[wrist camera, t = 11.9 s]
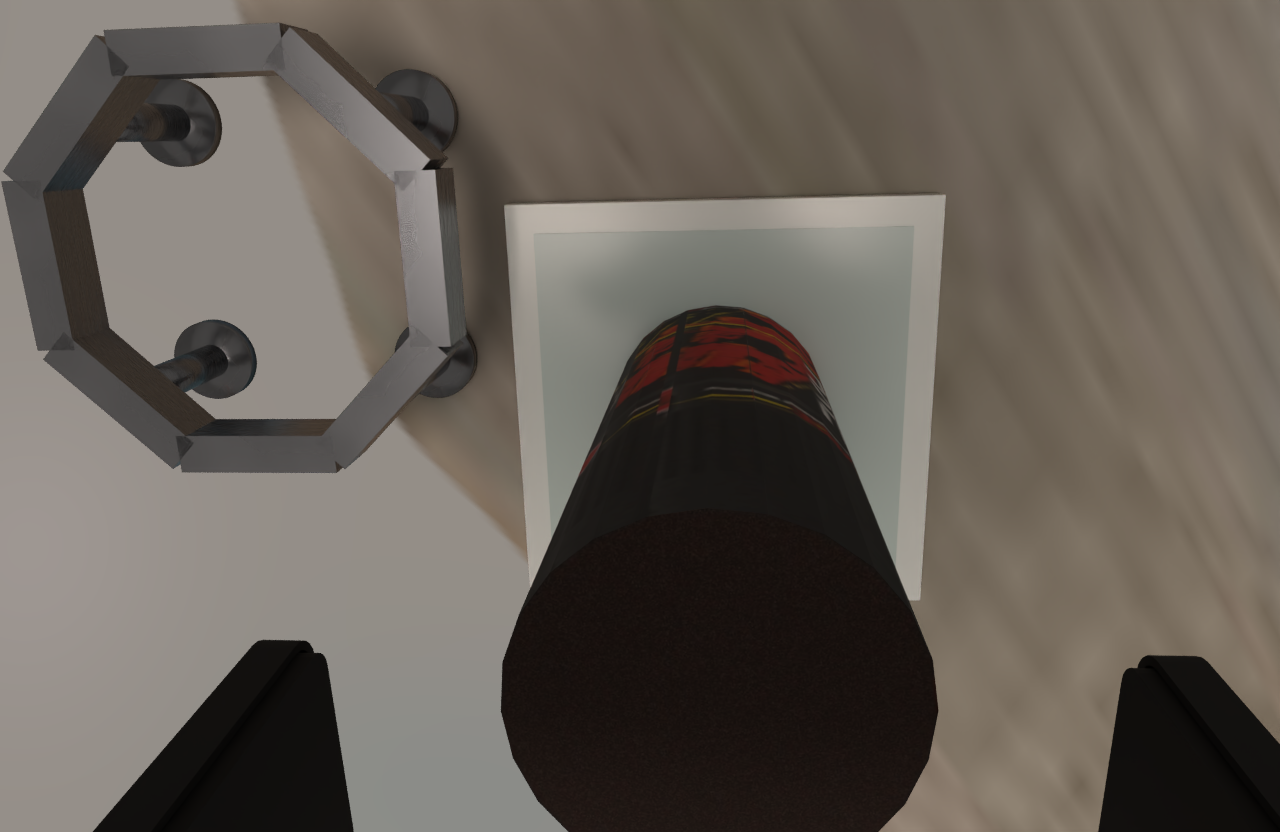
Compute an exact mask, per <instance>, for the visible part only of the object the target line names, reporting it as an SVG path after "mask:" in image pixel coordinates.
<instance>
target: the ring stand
mask: <svg viewBox="0 0 1280 832" xmlns="http://www.w3.org/2000/svg"><path fill="white" fill-rule="evenodd" d="M104 35H105V37H104V36H98V35H95V36H94V37H93V39H92V40H91V41H90V43H89V44H88V46H87V47H86V49H85V50H84V52H83V53H82V55H81V56H80V58H79V59H78V61H77V62H76V64H75V65H74V67H73V68H72V70H71V71H70V73H69V74H68V76H67V77H66V79H65V80H64V82H63V83H62V84H61V86H60V87H59V89H58V91H57V92H56V93H55V95H54V96H53V98H52V100H51V101H50V103H49V104H48V105H47V107H46V108H45V110H44V111H43V113H42V114H41V116H40V117H39V119H38V120H37V122H36V123H35V125H34V126H33V128H32V129H31V131H30V132H29V134H28V135H27V137H26V138H25V139H24V141H23V142H22V144H21V145H20V147H19V148H18V150H17V151H16V153H15V154H14V156H13V157H12V159H11V160H10V162H9V163H8V165H7V166H6V168H5V169H4V171H3V172H4V173H5V174H6V175H8V176H9V177H10V178H11V179H12V180H13V181H2V187H3V192H4V196H5V201H6V206H7V210H8V215H9V219H10V224H11V229H12V233H13V238H14V243H15V247H16V252H17V257H18V261H19V266H20V270H21V275H22V280H23V284H24V289H25V293H26V298H27V302H28V308H29V312H30V317H31V321H32V326H33V331H34V335H35V340H36V345H37V349H38V350H39V351H42V350H50V351H49V352H48V354H47V355H46V357H45V358H44V359H43V360H45V361H46V362H47V363H48V364H49V365H50V366H52V367H53V368H54V369H55V370H56V371H58V372H59V373H60V374H61V375H62V376H64V377H65V378H66V379H67V380H68V381H69V382H71V383H72V384H73V385H74V386H75V387H77V388H78V389H79V390H80V391H81V392H82V393H84V394H85V395H86V396H87V397H89V398H90V399H91V400H92V401H93V402H94V403H96V404H97V405H98V406H99V407H100V408H101V409H103V410H104V411H105V412H106V413H107V414H109V415H110V416H111V417H112V418H114V419H115V420H116V421H117V422H118V423H119V424H120V425H122V426H123V427H124V428H125V429H126V430H128V431H129V432H130V433H131V434H133V436H135V437H136V438H137V439H138V440H140V441H141V442H142V443H143V444H144V445H145V446H147V447H148V448H149V449H150V450H151V451H152V452H154V453H155V454H156V455H157V456H158V457H160V458H161V459H162V460H163V461H164V462H166V463H167V464H168V465H169V466H170V467H171V468H173V469H174V468H175V467H177V466H178V465H180V464H181V469H182V472H245V473H246V472H250V473H253V472H255V473H256V472H257V473H259V472H260V473H261V472H262V473H263V472H264V473H265V472H266V473H269V472H271V473H337V472H338V471H339V470H340V469H342V468H344V469H346V468H347V467H348V466H349V465H350V464H351V463H353V462H354V461H355V460H356V459H357V458H358V457H360V456H361V455H362V454H363V453H364V452H365V451H366V450H367V449H368V448H369V447H370V446H371V445H372V444H373V443H374V441H375V440H376V439H377V438H378V437H379V436H380V435H381V434H382V433H383V431H384V430H385V429H386V428H387V427H388V426H389V425H390V424H391V423H392V422H393V421H394V419H395V418H396V417H397V416H398V415H399V414H400V413H401V412H402V411H403V410H404V408H405V407H406V406H407V405H408V404H409V403H410V402H411V401H412V400H413V399H414V398H415V397H416V396H417V395H418V394H422V395H424V396H427V397H433V398H442V397H447V396H450V395H453V394H455V393H457V392H458V391H459V390H461V389H462V388H463V387H464V386H465V385H466V384H467V383H468V382H469V381H470V379H471V378H472V376H473V374H474V372H475V369H476V363H477V354H476V349H475V345H474V343H473V341H472V339H471V337H470V336H469V334H468V333H467V332H466V322H465V310H464V297H463V285H462V273H461V261H460V249H459V236H458V224H457V212H456V200H455V188H454V175H453V168H441V166H442V165H443V164H444V163H445V162H446V160H447V159H448V158H447V157H446V156H445V155H444V154H443V153H442V151H444V150H445V149H446V148H447V147H448V145H449V144H450V143H451V141H452V139H453V137H454V135H455V132H456V129H457V122H458V114H457V107H456V104H455V101H454V98H453V96H452V94H451V93H450V91H449V90H448V88H447V87H446V86H445V85H444V84H443V83H442V82H441V81H440V80H439V79H438V78H436V77H434V76H433V75H431V74H429V73H426V72H422V71H418V70H410V69H406V70H400V71H396V72H394V73H391V74H390V75H388V76H386V77H385V78H384V79H383V80H382V81H381V82H380V83H379V84H378V85H377V87H376V88H374V87H373V86H372V85H371V84H370V83H368V82H367V81H366V80H365V79H364V78H363V77H362V76H361V75H360V74H359V73H358V72H357V71H356V70H355V69H354V68H353V67H352V66H351V65H349V64H348V63H347V62H346V61H345V60H344V59H343V58H342V57H341V56H340V55H339V54H338V53H337V52H336V51H335V50H334V49H333V48H332V47H331V46H329V45H328V44H327V43H326V42H325V41H324V40H323V39H322V38H321V37H320V36H319V35H318V34H315V33H311V32H308V30H305V29H301V28H298V27H294V26H290V25H286V24H282V23H262V24H238V25H214V26H190V27H167V28H144V29H143V28H142V29H119V30H104ZM275 75H279V76H280V77H281V78H282V79H283V80H285V81H286V82H287V83H288V84H289V85H290V86H291V87H292V88H293V89H294V90H295V91H296V92H297V93H298V94H300V95H301V96H302V97H303V98H304V99H305V100H306V101H307V102H308V103H309V104H310V105H311V106H312V107H313V108H315V109H316V110H317V111H318V112H319V113H320V114H321V115H322V116H323V117H324V118H325V119H326V120H327V121H328V122H330V123H331V124H332V125H333V126H334V127H335V128H336V129H337V130H338V131H339V132H340V133H341V134H342V135H343V136H344V137H346V138H347V139H348V140H349V141H350V142H351V143H352V144H353V145H354V146H355V147H356V148H357V149H358V150H359V151H361V152H362V153H363V154H364V155H365V156H366V157H367V158H368V159H369V160H370V161H371V162H372V163H373V164H374V165H376V166H377V167H378V168H379V169H380V170H381V171H382V172H383V173H384V174H385V175H386V176H387V177H388V178H389V179H391V180H392V181H393V182H394V183H395V193H396V203H397V213H398V223H399V233H400V243H401V253H402V263H403V273H404V283H405V293H406V303H407V314H408V324H409V327H408V328H406V329H405V330H404V331H403V333H402V334H401V335H400V337H399V339H398V341H397V344H396V348H395V353H394V354H393V356H392V357H391V358H390V359H389V360H388V361H387V362H386V363H385V365H384V366H383V367H382V368H381V369H380V370H379V371H378V373H377V374H376V375H375V376H374V377H373V378H372V379H371V380H370V382H369V383H368V384H367V385H366V386H365V387H364V388H363V390H362V391H361V392H360V393H359V394H358V395H357V396H356V397H355V399H354V400H353V401H352V402H351V403H350V404H349V406H348V407H347V408H346V409H345V410H344V411H343V412H342V413H341V415H340V416H339V417H338V418H337V419H215V418H214V417H212V416H211V415H210V414H209V413H208V412H207V411H206V410H204V409H203V408H202V407H201V406H200V405H199V404H197V403H196V402H195V401H194V400H193V399H192V398H190V397H189V396H188V395H187V394H186V393H185V392H187V391H189V390H191V389H193V390H194V391H195V392H197V393H199V394H201V395H203V396H206V397H209V398H215V399H221V398H228V397H230V396H233V395H235V394H237V393H238V392H240V391H242V390H244V389H245V388H246V387H247V386H248V385H249V384H250V383H251V381H252V380H253V377H254V375H255V372H256V367H257V360H256V354H255V351H254V348H253V346H252V344H251V342H250V340H249V339H248V338H247V336H246V335H245V334H244V333H243V332H242V331H241V330H240V329H238V328H237V327H236V326H234V325H232V324H230V323H228V322H225V321H221V320H206V321H202V322H199V323H197V324H194V325H192V326H190V327H188V328H187V329H186V330H184V331H183V332H182V334H181V335H180V337H179V338H178V340H177V342H176V346H175V352H174V353H175V354H174V357H175V358H173V359H171V360H168V361H166V362H163V363H161V364H158V365H156V366H153V365H152V364H151V363H150V362H148V361H147V360H146V359H145V358H143V356H141V355H140V354H139V353H138V352H137V351H136V350H134V349H133V348H132V347H131V346H130V345H129V344H127V343H126V342H125V341H124V340H123V339H122V338H120V337H119V336H118V335H117V334H116V333H115V332H114V331H112V330H111V329H110V328H109V323H108V318H107V313H106V307H105V302H104V297H103V292H102V287H101V281H100V276H99V271H98V267H97V261H96V255H95V251H94V245H93V240H92V235H91V229H90V224H89V219H88V214H87V209H86V204H85V198H84V193H83V188H84V186H85V185H86V184H87V182H88V181H89V179H90V178H91V176H92V175H93V174H94V172H95V171H96V169H97V168H98V167H99V165H100V164H101V163H102V161H103V160H104V158H105V157H106V155H107V154H108V153H109V151H110V150H111V148H112V147H113V146H114V144H115V143H116V142H141V144H142V145H143V147H144V148H145V149H146V150H147V152H148V153H149V154H151V155H152V156H153V157H154V158H156V159H157V160H159V161H160V162H162V163H164V164H167V165H171V166H176V167H185V166H195V165H198V164H201V163H203V162H205V161H206V160H208V159H209V158H210V157H211V156H212V155H213V154H214V153H215V151H216V150H217V148H218V146H219V143H220V140H221V135H222V123H221V118H220V114H219V111H218V109H217V107H216V105H215V103H214V101H213V100H212V99H211V97H210V96H209V95H208V94H207V93H206V92H205V91H204V90H203V89H202V88H201V87H199V86H197V85H196V84H193V83H192V82H189V81H186V80H181V79H193V78H220V77H247V76H275Z"/></svg>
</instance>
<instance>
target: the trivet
mask: <svg viewBox="0 0 1280 832" xmlns="http://www.w3.org/2000/svg"><path fill="white" fill-rule="evenodd" d="M945 200H946V195H944V194H940V193H928V194H885V195H842V196H799V197H756V198H713V199H670V200H627V201H584V202H541V203H509V204H506V205H504V211H505V226H506V241H507V256H508V270H509V285H510V300H511V315H512V329H513V344H514V359H515V374H516V389H517V403H518V418H519V433H520V448H521V463H522V477H523V492H524V507H525V522H526V536H527V551H528V566H529V581H530V588H531V586H532V583H533V581H534V579H535V576H536V574H537V572H538V569H539V567H540V565H541V562H542V560H543V558H544V555H545V553H546V551H547V548H548V546H549V543H550V541H551V539H552V536H553V534H554V532H555V529H556V527H557V525H558V522H559V520H560V518H561V515H562V513H563V511H564V508H565V506H566V504H567V501H568V499H569V497H570V494H571V492H572V490H573V487H574V485H575V483H576V480H577V478H578V476H579V473H580V471H581V468H582V466H583V464H584V461H585V459H586V457H587V454H588V452H589V450H590V447H591V445H592V443H593V440H594V438H595V436H596V433H597V431H598V429H599V426H600V424H601V422H602V419H603V417H604V415H605V412H606V410H607V408H608V405H609V403H610V401H611V398H612V396H613V393H614V391H615V389H616V386H617V384H618V382H619V379H620V377H621V375H622V372H623V370H624V368H625V365H626V363H627V361H628V359H629V358H630V356H631V355H632V353H633V352H634V350H635V349H636V348H637V346H638V345H639V343H640V342H641V340H642V339H643V338H644V337H645V336H646V335H648V334H649V333H650V332H651V331H653V330H654V329H655V328H656V327H657V326H659V325H660V324H661V323H662V322H663V321H665V320H668V319H670V318H672V317H674V316H676V315H678V314H681V313H683V312H685V311H687V310H691V309H697V308H703V307H709V306H715V305H718V306H731V307H742V308H746V309H748V310H751V311H754V312H757V313H760V314H762V315H765V316H768V317H770V318H771V319H773V320H774V321H776V322H777V323H778V324H780V325H781V326H783V327H784V328H786V329H787V330H788V331H790V332H791V333H792V334H793V335H794V336H795V337H796V339H797V340H798V341H799V342H800V344H801V345H802V346H803V347H804V348H805V350H806V351H807V352H808V353H809V355H810V358H811V360H812V362H813V364H814V367H815V369H816V371H817V374H818V376H819V378H820V381H821V383H822V386H823V388H824V391H825V393H826V396H827V398H828V401H829V403H830V406H831V408H832V410H833V413H834V415H835V418H836V420H837V423H838V425H839V428H840V430H841V433H842V435H843V438H844V440H845V443H846V445H847V448H848V450H849V453H850V455H851V458H852V460H853V463H854V465H855V468H856V470H857V473H858V475H859V478H860V480H861V483H862V485H863V488H864V490H865V493H866V495H867V498H868V500H869V503H870V505H871V508H872V510H873V513H874V515H875V518H876V520H877V523H878V525H879V528H880V530H881V533H882V535H883V537H884V540H885V542H886V545H887V547H888V550H889V552H890V555H891V557H892V560H893V562H894V565H895V567H896V570H897V572H898V575H899V577H900V580H901V582H902V585H903V587H904V590H905V592H906V595H907V597H908V600H920V593H921V578H922V562H923V546H924V530H925V515H926V499H927V483H928V467H929V452H930V436H931V420H932V404H933V389H934V373H935V357H936V341H937V326H938V310H939V294H940V278H941V263H942V247H943V231H944V216H945Z"/></svg>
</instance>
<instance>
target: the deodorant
mask: <svg viewBox="0 0 1280 832" xmlns="http://www.w3.org/2000/svg"><path fill="white" fill-rule="evenodd" d="M501 713H502V717H503V721H504V724H505V729H506V732H507V736H508V740H509V743H510V748H511V752H512V756H513V759H514V760H515V762H516V764H517V765H518V767H519V769H520V771H521V773H522V774H523V776H524V778H525V779H526V781H527V783H528V784H529V786H530V788H531V790H532V792H533V793H534V795H535V797H536V798H537V800H538V802H540V804H541V805H543V807H544V808H545V809H546V810H547V811H548V812H549V813H550V814H551V815H552V816H553V817H554V818H555V819H556V820H557V821H558V822H559V823H561V825H562V826H563V827H564V828H565V829H566V830H567V831H568V832H879V830H880V829H881V828H882V827H883V826H884V825H885V824H886V823H887V822H888V821H889V820H890V819H891V818H892V817H893V816H894V815H895V814H896V813H897V812H898V811H899V810H900V809H901V808H902V807H903V806H904V805H905V803H906V801H907V799H908V797H909V796H910V794H911V792H912V790H913V788H914V786H915V784H916V783H917V781H918V779H919V777H920V775H921V773H922V771H923V769H924V768H925V766H926V764H927V762H928V760H929V755H930V750H931V745H932V740H933V735H934V730H935V725H936V720H937V715H938V703H937V694H936V685H935V676H934V667H933V660H932V657H931V655H930V652H929V650H928V647H927V645H926V642H925V640H924V637H923V635H922V632H921V630H920V627H919V625H918V622H917V620H916V617H915V615H914V612H913V610H912V607H911V605H910V602H909V600H908V597H907V595H906V592H905V590H904V587H903V585H902V582H901V580H900V577H899V575H898V572H897V570H896V567H895V565H894V562H893V560H892V557H891V555H890V552H889V550H888V547H887V545H886V542H885V540H884V537H883V535H882V533H881V530H880V528H879V525H878V523H877V520H876V518H875V515H874V513H873V510H872V508H871V505H870V503H869V500H868V498H867V495H866V493H865V490H864V488H863V485H862V483H861V480H860V478H859V475H858V473H857V470H856V468H855V465H854V463H853V460H852V458H851V455H850V453H849V450H848V448H847V445H846V443H845V440H844V438H843V435H842V433H841V430H840V428H839V425H838V423H837V420H836V418H835V415H834V413H833V410H832V408H831V406H830V403H829V401H828V398H827V396H826V393H825V391H824V388H823V386H822V383H821V381H820V378H819V376H818V374H817V371H816V369H815V367H814V364H813V362H812V360H811V358H810V355H809V353H808V352H807V351H806V350H805V348H804V347H803V346H802V345H801V344H800V342H799V341H798V340H797V339H796V337H795V336H794V335H793V334H792V333H791V332H790V331H788V330H787V329H786V328H784V327H783V326H781V325H780V324H778V323H777V322H776V321H774V320H773V319H771V318H770V317H768V316H765V315H762V314H760V313H757V312H754V311H751V310H748V309H746V308H742V307H731V306H718V305H715V306H709V307H703V308H697V309H691V310H687V311H685V312H683V313H681V314H678V315H676V316H674V317H672V318H670V319H668V320H665V321H663V322H662V323H661V324H660V325H659V326H657V327H656V328H655V329H654V330H653V331H651V332H650V333H649V334H648V335H646V336H645V337H644V338H643V339H642V340H641V342H640V343H639V345H638V346H637V348H636V349H635V350H634V352H633V353H632V355H631V356H630V358H629V359H628V361H627V363H626V365H625V368H624V370H623V372H622V375H621V377H620V379H619V382H618V384H617V386H616V389H615V391H614V393H613V396H612V398H611V401H610V403H609V405H608V408H607V410H606V412H605V415H604V417H603V419H602V422H601V424H600V426H599V429H598V431H597V433H596V436H595V438H594V440H593V443H592V445H591V447H590V450H589V452H588V454H587V457H586V459H585V461H584V464H583V466H582V468H581V471H580V473H579V476H578V478H577V480H576V483H575V485H574V487H573V490H572V492H571V494H570V497H569V499H568V501H567V504H566V506H565V508H564V511H563V513H562V515H561V518H560V520H559V522H558V525H557V527H556V529H555V532H554V534H553V536H552V539H551V541H550V543H549V546H548V548H547V551H546V553H545V555H544V558H543V560H542V562H541V565H540V567H539V569H538V572H537V574H536V576H535V579H534V581H533V583H532V586H531V588H530V590H529V593H528V595H527V597H526V600H525V602H524V604H523V607H522V609H521V612H520V614H519V617H518V619H517V622H516V625H515V628H514V631H513V634H512V637H511V639H510V642H509V645H508V648H507V651H506V654H505V657H504V660H503V664H502V697H501Z"/></svg>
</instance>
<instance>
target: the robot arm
mask: <svg viewBox="0 0 1280 832" xmlns="http://www.w3.org/2000/svg"><path fill="white" fill-rule="evenodd" d="M93 832H353V823H352V818H351V811H350V804H349V798H348V792H347V786H346V779H345V773H344V766H343V760H342V755H341V747H340V742H339V735H338V728H337V722H336V716H335V709H334V703H333V697H332V691H331V684H330V678H329V671H328V665H327V661H326V659H325V657H324V655H323V654H321V653H314V651H313V648H312V647H311V645H310V643H308V642H307V641H293V640H291V641H290V640H261V641H257V642H256V643H255V644H254V645H253V646H252V647H251V648H250V649H249V650H248V652H247V653H246V654H245V655H244V656H243V657H242V659H241V660H240V661H239V662H238V663H237V664H236V666H235V667H234V668H233V669H232V670H231V671H230V673H229V674H228V675H227V676H226V677H225V678H224V679H223V681H222V682H221V683H220V684H219V685H218V686H217V688H216V689H215V690H214V691H213V692H212V694H211V695H210V696H209V697H208V698H207V699H206V700H205V702H204V703H203V704H202V705H201V706H200V708H199V709H198V710H197V711H196V712H195V713H194V714H193V716H192V717H191V718H190V719H189V720H188V721H187V723H186V724H185V725H184V726H183V727H182V728H181V730H180V731H179V732H178V733H177V734H176V735H175V737H174V738H173V739H172V740H171V741H170V742H169V744H168V745H167V746H166V747H165V748H164V749H163V751H162V752H161V753H160V754H159V755H158V756H157V758H156V759H155V760H154V761H153V762H152V763H151V764H150V766H149V767H148V768H147V769H146V770H145V771H144V773H143V774H142V775H141V776H140V777H139V778H138V780H137V781H136V782H135V783H134V784H133V785H132V787H131V788H130V789H129V790H128V791H127V792H126V794H125V795H124V796H123V797H122V798H121V799H120V801H119V802H118V803H117V804H116V805H115V806H114V808H113V809H112V810H111V811H110V812H109V813H108V815H107V816H106V817H105V818H104V819H103V821H102V822H101V823H100V824H99V825H98V826H97V828H96V829H95V830H94V831H93ZM1098 832H1280V744H1279V743H1278V742H1277V741H1276V739H1275V738H1274V737H1273V736H1272V735H1271V734H1270V733H1269V731H1268V730H1267V729H1266V728H1265V727H1264V726H1263V725H1262V723H1261V722H1260V721H1259V720H1258V719H1257V718H1256V717H1255V715H1254V714H1253V713H1252V712H1251V711H1250V710H1249V709H1248V707H1247V706H1246V705H1245V704H1244V703H1243V702H1242V701H1241V699H1240V698H1239V697H1238V696H1237V695H1236V694H1235V693H1234V691H1233V690H1232V689H1231V688H1230V687H1229V686H1228V685H1227V683H1226V682H1225V681H1224V680H1223V679H1222V678H1221V677H1220V675H1219V674H1218V673H1217V672H1216V671H1215V670H1214V669H1213V667H1212V666H1211V665H1210V664H1209V663H1208V662H1207V661H1206V660H1205V659H1203V658H1202V657H1197V656H1155V655H1147V656H1145V657H1143V658H1142V659H1141V661H1140V662H1139V664H1138V668H1129V669H1127V670H1126V671H1125V672H1124V674H1123V678H1122V682H1121V688H1120V695H1119V701H1118V708H1117V714H1116V721H1115V727H1114V734H1113V740H1112V747H1111V753H1110V760H1109V766H1108V773H1107V779H1106V785H1105V792H1104V798H1103V805H1102V811H1101V818H1100V824H1099V831H1098Z"/></svg>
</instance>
